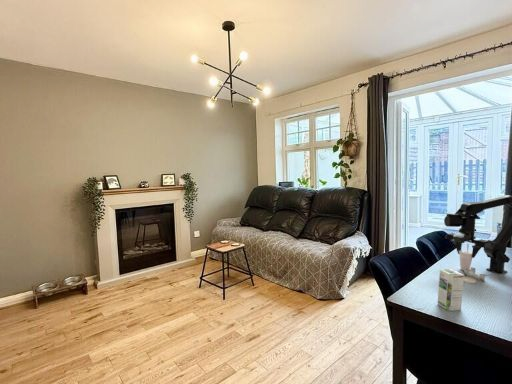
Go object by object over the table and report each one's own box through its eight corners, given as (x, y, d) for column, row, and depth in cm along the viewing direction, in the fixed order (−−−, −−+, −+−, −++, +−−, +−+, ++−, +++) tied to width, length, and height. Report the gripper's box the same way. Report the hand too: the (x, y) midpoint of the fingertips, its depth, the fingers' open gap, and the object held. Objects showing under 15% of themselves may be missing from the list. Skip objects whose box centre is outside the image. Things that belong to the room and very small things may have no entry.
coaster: (462, 275, 138) (462, 274, 138) (480, 281, 131) (480, 280, 131) (452, 278, 135) (452, 277, 135) (470, 284, 128) (470, 283, 128)
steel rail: (471, 272, 141) (472, 267, 141) (492, 279, 133) (492, 273, 133) (463, 275, 138) (463, 269, 138) (483, 281, 130) (483, 275, 130)
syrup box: (436, 303, 110) (438, 269, 109) (450, 303, 111) (452, 268, 109) (447, 311, 105) (450, 274, 103) (462, 310, 105) (464, 274, 104)
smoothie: (475, 272, 142) (477, 246, 140) (461, 271, 143) (463, 245, 142) (468, 267, 148) (470, 242, 147) (455, 267, 149) (456, 242, 148)
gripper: (439, 224, 149) (438, 252, 150) (479, 232, 132) (476, 263, 133) (452, 223, 153) (451, 250, 155) (492, 230, 136) (490, 260, 138)
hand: (466, 255), depth 145 cm, fingers closed on smoothie, 6 cm apart
